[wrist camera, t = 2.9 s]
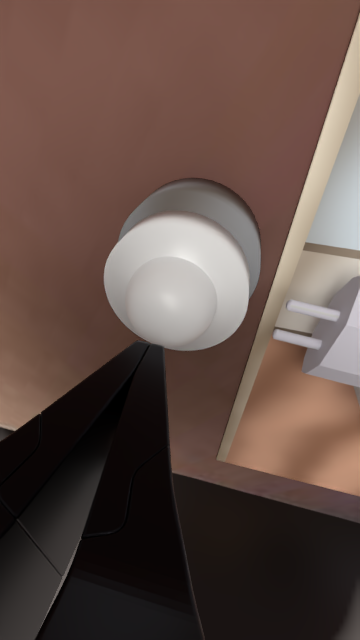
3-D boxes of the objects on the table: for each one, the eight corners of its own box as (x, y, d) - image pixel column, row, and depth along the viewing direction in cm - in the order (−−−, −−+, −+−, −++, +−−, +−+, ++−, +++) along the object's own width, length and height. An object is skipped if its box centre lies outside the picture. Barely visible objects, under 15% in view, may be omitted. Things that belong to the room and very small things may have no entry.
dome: (266, 223, 10) (267, 269, 8) (235, 340, 14) (228, 400, 11) (112, 200, 11) (65, 235, 8) (121, 317, 14) (89, 368, 12)
